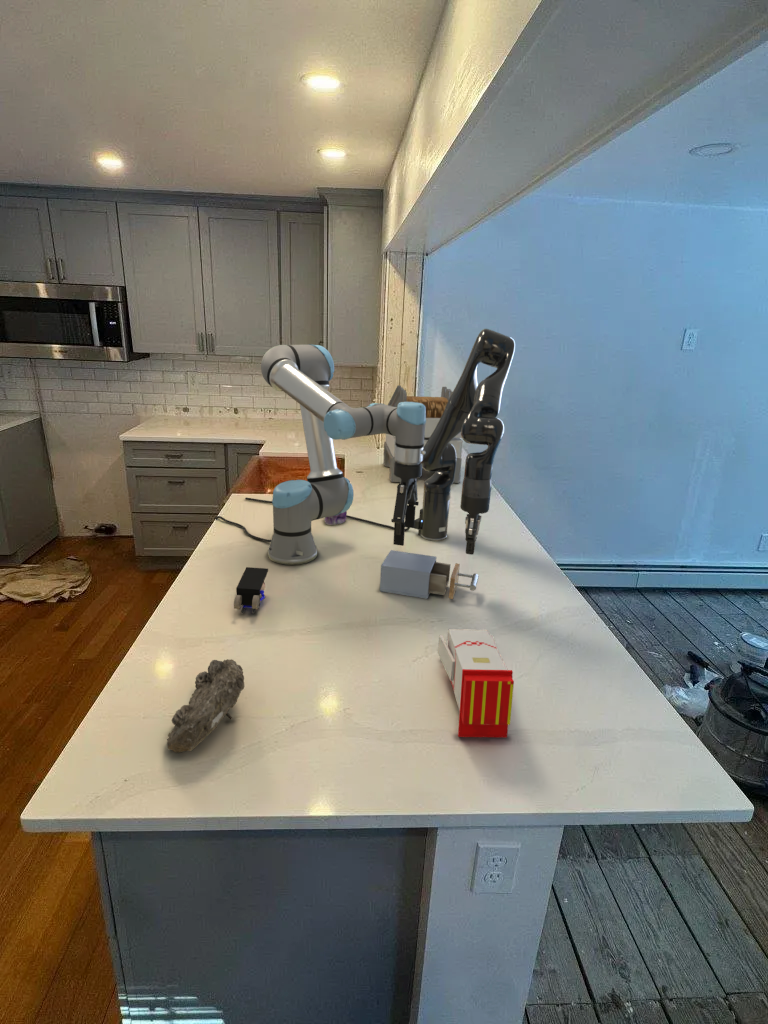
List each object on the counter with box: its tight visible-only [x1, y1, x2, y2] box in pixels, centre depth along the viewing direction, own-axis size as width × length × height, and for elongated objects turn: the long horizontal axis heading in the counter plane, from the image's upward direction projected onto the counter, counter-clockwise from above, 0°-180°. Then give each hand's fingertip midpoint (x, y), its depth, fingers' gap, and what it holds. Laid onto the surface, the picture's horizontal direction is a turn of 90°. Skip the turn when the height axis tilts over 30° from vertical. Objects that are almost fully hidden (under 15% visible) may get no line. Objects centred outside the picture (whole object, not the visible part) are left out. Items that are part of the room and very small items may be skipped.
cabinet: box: [379, 549, 437, 600], centre depth 161 cm, size 14×11×8 cm
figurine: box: [323, 510, 348, 526], centre depth 206 cm, size 9×10×15 cm
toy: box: [437, 628, 515, 738], centre depth 117 cm, size 12×13×30 cm
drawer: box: [428, 561, 480, 600], centre depth 159 cm, size 18×10×6 cm, turn 75°
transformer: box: [383, 384, 464, 484], centre depth 268 cm, size 34×33×41 cm
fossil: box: [166, 658, 245, 754], centre depth 106 cm, size 22×10×15 cm
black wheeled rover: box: [233, 566, 269, 615], centre depth 148 cm, size 7×8×15 cm
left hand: (404, 535), depth 158 cm, fingers open, 13 cm apart
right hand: (469, 553), depth 154 cm, fingers closed
